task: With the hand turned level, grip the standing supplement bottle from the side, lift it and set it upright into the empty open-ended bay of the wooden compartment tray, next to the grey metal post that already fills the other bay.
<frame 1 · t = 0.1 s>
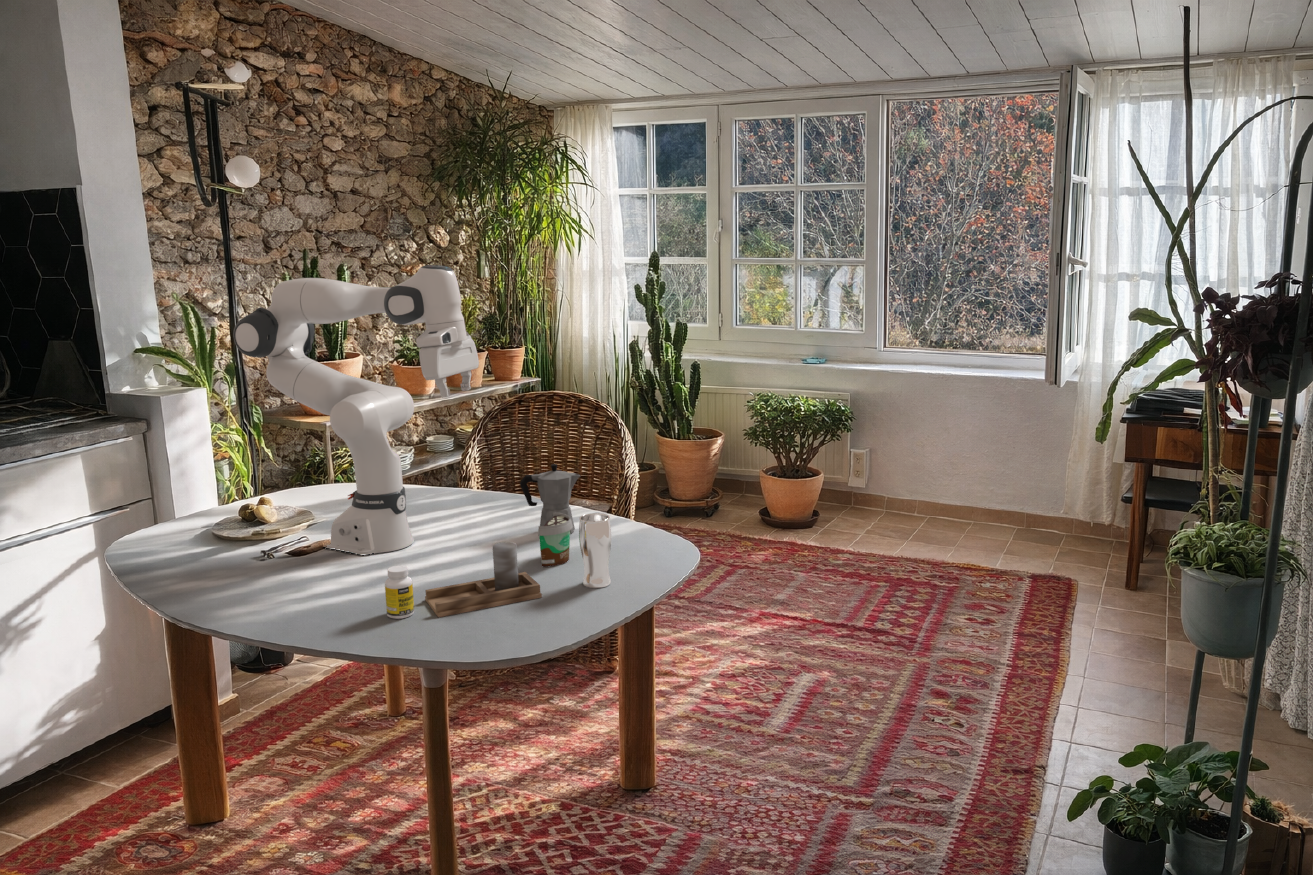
hand: (456, 393, 225), 39 cm above the table, tool pointing down, fingers open, 8 cm apart
supplement bottle: (401, 615, 195), on the table
wooden compartment tray: (483, 598, 202), on the table
beer glass: (596, 584, 210), on the table
coffeepot: (552, 532, 247), on the table
food container: (560, 561, 225), on the table
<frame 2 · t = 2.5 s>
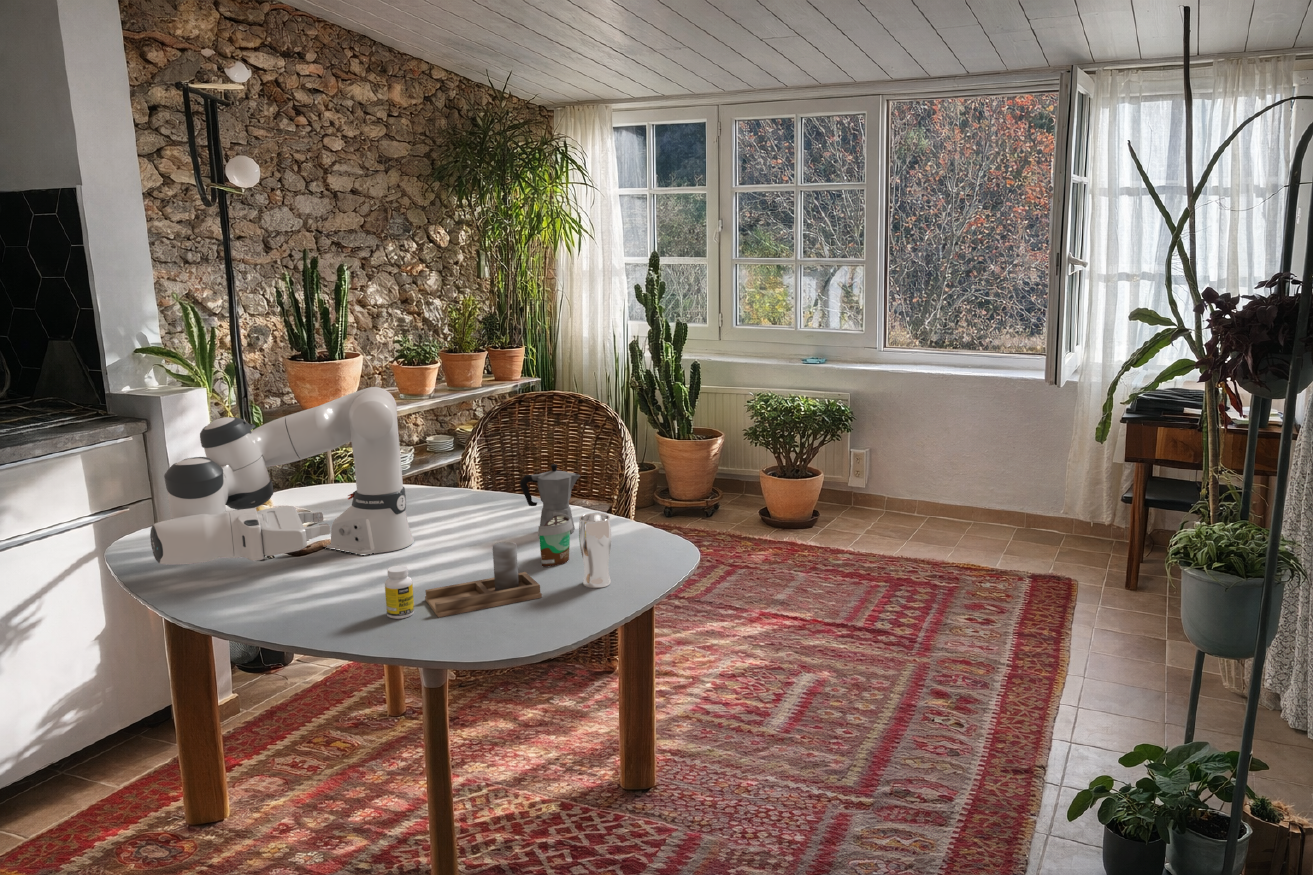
hand: (326, 522, 185), 21 cm above the table, tool horizontal, fingers open, 8 cm apart
nothing on the table moved.
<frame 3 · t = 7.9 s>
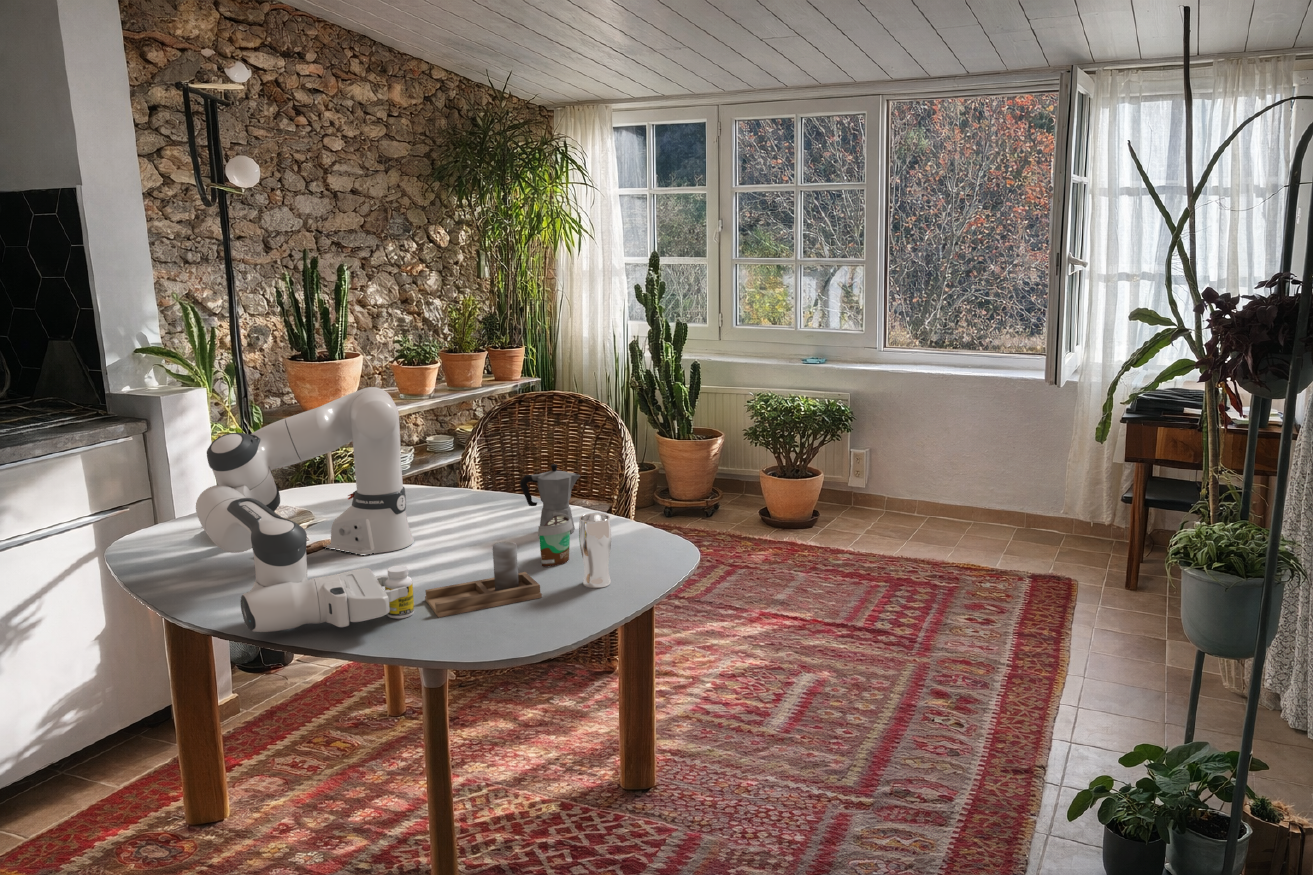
hand: (403, 585, 194), 6 cm above the table, tool horizontal, fingers closed on supplement bottle, 5 cm apart
supplement bottle: (401, 615, 195), on the table, touching gripper
everything else where it was.
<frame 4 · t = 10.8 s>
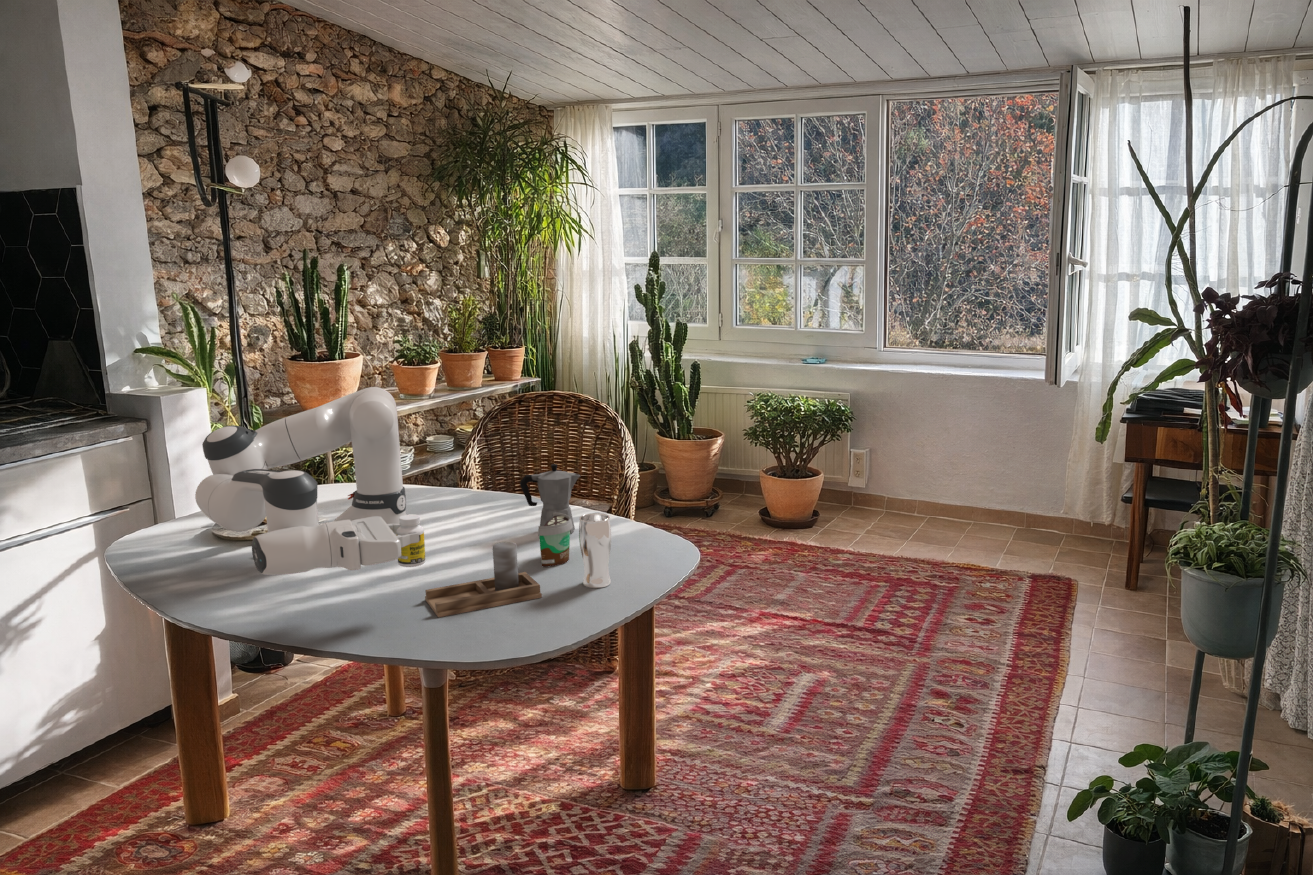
hand: (414, 532, 193), 17 cm above the table, tool horizontal, fingers closed on supplement bottle, 5 cm apart
supplement bottle: (412, 564, 193), point 10 cm above the table, touching gripper
everything else where it was.
when the fingers open (9 cm above the table, at t = 14.1 s): supplement bottle stays where it is, resting on wooden compartment tray.
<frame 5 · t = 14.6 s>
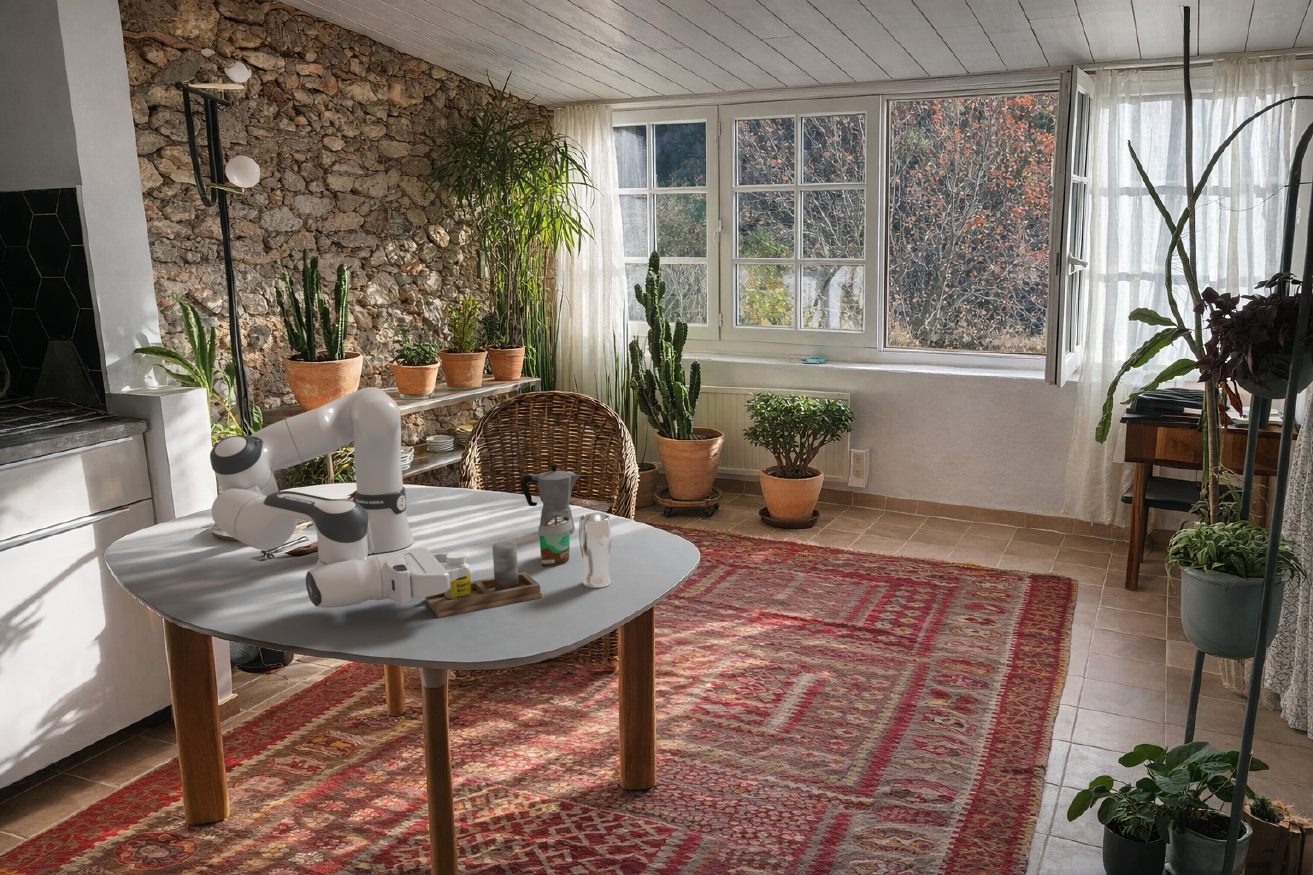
hand: (460, 563, 198), 9 cm above the table, tool horizontal, fingers open, 8 cm apart
supplement bottle: (458, 600, 200), point 1 cm above the table, touching wooden compartment tray
everything else where it was.
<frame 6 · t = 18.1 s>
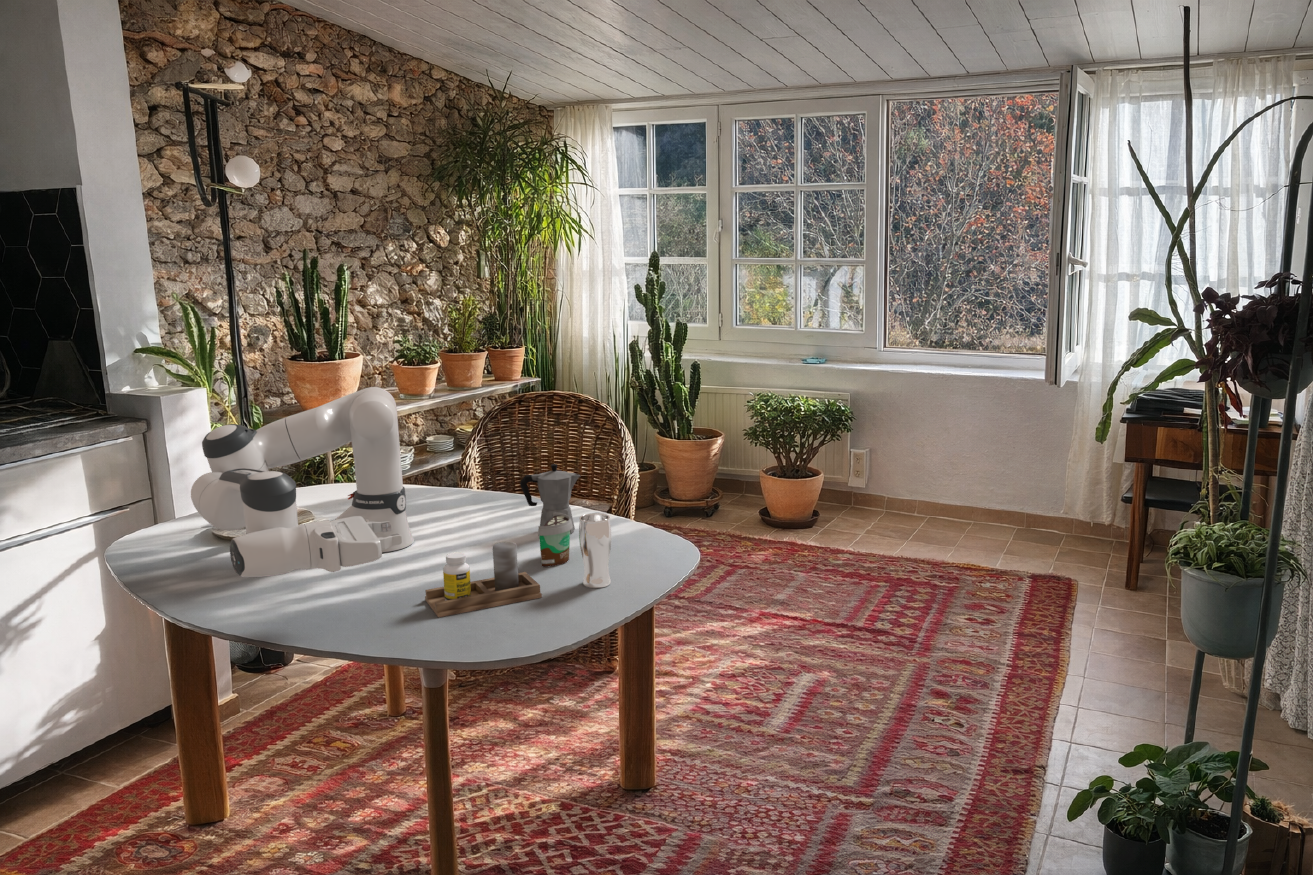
hand: (395, 532, 190), 18 cm above the table, tool horizontal, fingers open, 8 cm apart
nothing on the table moved.
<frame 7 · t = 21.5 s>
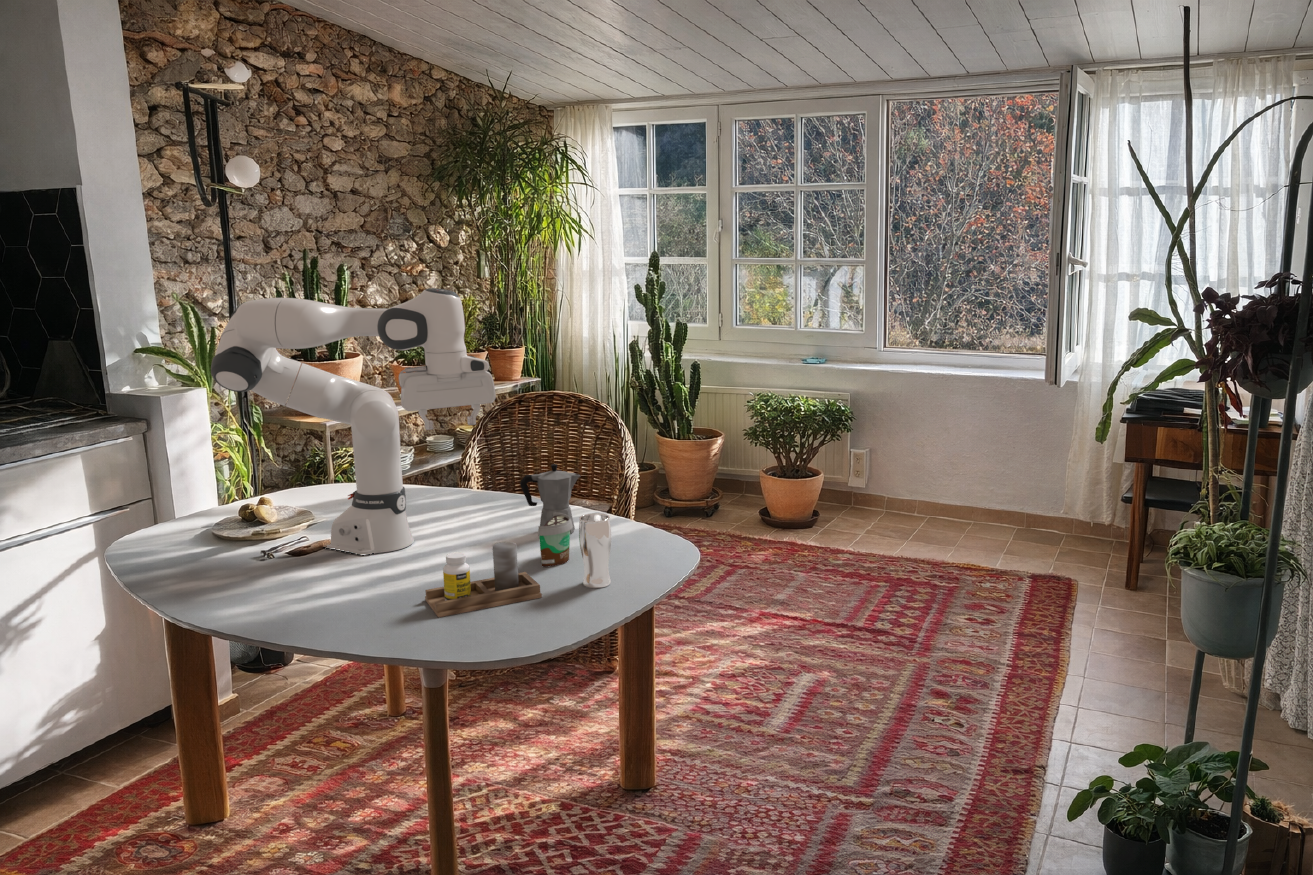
hand: (450, 427, 210), 34 cm above the table, tool pointing down, fingers open, 8 cm apart
nothing on the table moved.
at the end: supplement bottle 0.1 cm from the target spot on the wooden compartment tray, point 0.6 cm above the wooden compartment tray's base; supplement bottle tilted 0°; the gripper is holding nothing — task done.
